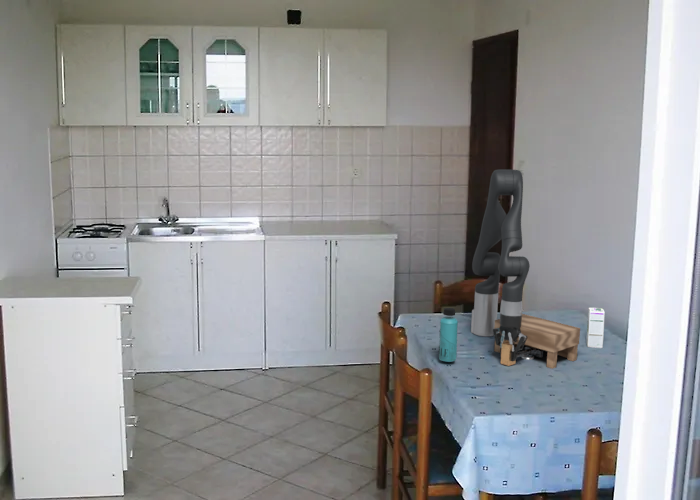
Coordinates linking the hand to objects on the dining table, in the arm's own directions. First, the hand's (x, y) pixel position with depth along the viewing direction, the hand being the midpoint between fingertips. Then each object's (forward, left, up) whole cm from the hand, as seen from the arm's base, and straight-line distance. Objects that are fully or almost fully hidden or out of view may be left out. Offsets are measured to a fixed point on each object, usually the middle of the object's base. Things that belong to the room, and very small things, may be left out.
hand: (508, 359), depth 276 cm
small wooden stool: (+3, +16, -2) cm, 16 cm away
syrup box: (+15, +43, -2) cm, 46 cm away
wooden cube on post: (+1, +7, -2) cm, 7 cm away
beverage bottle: (-17, -13, -2) cm, 22 cm away
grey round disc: (+2, +12, -2) cm, 12 cm away
